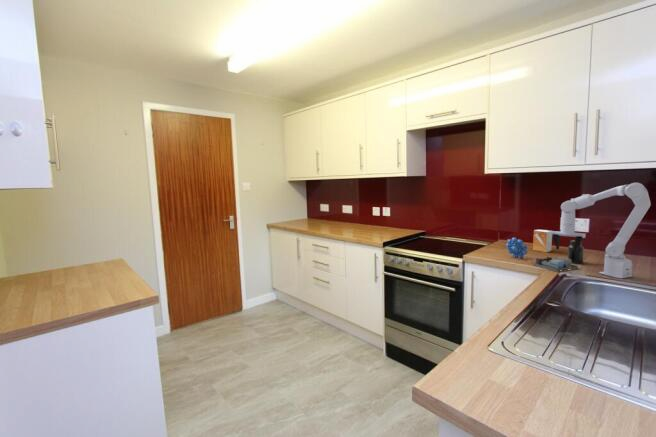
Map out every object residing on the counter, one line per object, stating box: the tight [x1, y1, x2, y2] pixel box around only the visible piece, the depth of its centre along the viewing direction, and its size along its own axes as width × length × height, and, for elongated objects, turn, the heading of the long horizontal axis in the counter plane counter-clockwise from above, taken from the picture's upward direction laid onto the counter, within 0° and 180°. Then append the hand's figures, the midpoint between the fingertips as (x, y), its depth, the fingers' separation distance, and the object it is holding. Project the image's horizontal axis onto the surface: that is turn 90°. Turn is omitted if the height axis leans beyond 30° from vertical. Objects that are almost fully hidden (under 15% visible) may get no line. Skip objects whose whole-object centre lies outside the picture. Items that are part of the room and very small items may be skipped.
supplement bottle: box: [567, 239, 585, 265], centre depth 173 cm, size 7×7×12 cm
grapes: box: [505, 237, 528, 259], centre depth 187 cm, size 12×7×12 cm, turn 42°
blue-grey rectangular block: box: [546, 258, 565, 267], centre depth 165 cm, size 7×5×3 cm, turn 15°
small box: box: [532, 229, 553, 253], centre depth 201 cm, size 8×6×13 cm
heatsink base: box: [532, 256, 579, 272], centre depth 167 cm, size 14×14×4 cm
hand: (566, 249), depth 164 cm, fingers open, 7 cm apart
